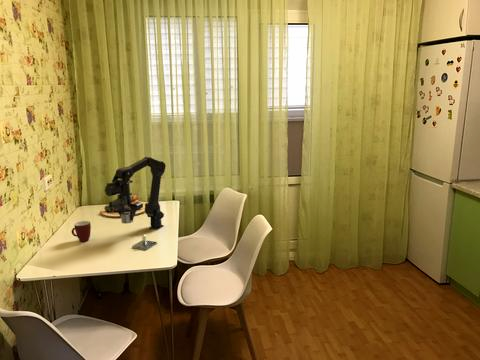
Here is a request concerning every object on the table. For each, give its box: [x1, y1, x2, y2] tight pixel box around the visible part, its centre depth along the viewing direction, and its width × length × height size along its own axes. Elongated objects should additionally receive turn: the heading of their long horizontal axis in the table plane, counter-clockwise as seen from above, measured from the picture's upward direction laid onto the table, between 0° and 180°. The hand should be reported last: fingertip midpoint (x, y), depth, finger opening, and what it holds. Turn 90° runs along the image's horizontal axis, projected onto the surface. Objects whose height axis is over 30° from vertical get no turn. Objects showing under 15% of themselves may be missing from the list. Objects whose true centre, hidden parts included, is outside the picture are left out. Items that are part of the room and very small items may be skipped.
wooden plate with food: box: [100, 195, 147, 219], centre depth 266 cm, size 32×32×8 cm
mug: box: [71, 220, 92, 243], centre depth 213 cm, size 10×8×10 cm
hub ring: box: [120, 212, 134, 225], centre depth 214 cm, size 6×6×4 cm
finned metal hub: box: [131, 233, 158, 251], centre depth 204 cm, size 9×9×6 cm
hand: (127, 219), depth 214 cm, fingers closed on hub ring, 6 cm apart
